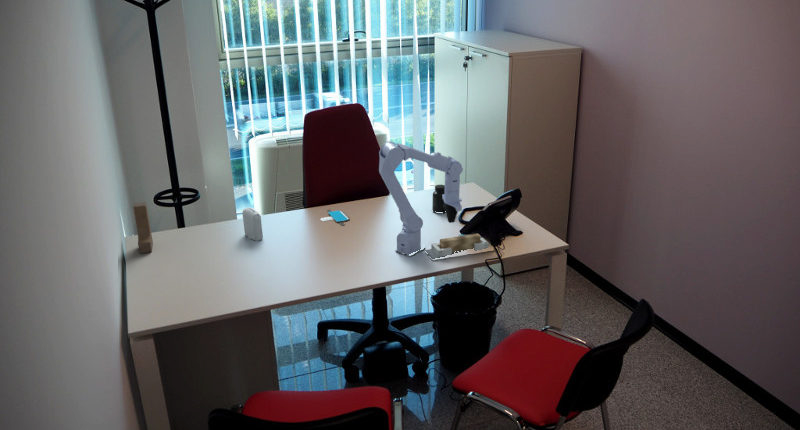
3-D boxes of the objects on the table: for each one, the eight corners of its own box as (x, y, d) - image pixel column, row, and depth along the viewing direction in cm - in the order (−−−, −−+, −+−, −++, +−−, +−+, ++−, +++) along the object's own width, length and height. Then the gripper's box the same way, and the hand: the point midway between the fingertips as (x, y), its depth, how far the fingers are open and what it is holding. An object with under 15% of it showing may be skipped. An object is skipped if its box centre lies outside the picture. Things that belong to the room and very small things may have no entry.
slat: (442, 253, 244) (442, 241, 242) (439, 251, 246) (439, 239, 244) (480, 247, 249) (480, 235, 247) (477, 245, 251) (477, 233, 249)
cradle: (432, 261, 241) (432, 252, 239) (424, 252, 248) (424, 244, 246) (494, 250, 248) (495, 242, 247) (485, 242, 255) (485, 234, 254)
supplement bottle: (447, 214, 284) (448, 188, 280) (432, 214, 285) (432, 188, 280) (447, 208, 291) (447, 183, 286) (432, 208, 291) (432, 183, 287)
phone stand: (314, 213, 288) (314, 210, 287) (339, 209, 293) (339, 206, 292) (328, 229, 271) (328, 225, 270) (354, 224, 276) (354, 221, 275)
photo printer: (243, 234, 266) (240, 206, 261) (252, 231, 268) (249, 204, 264) (255, 242, 258) (252, 213, 254) (264, 239, 261) (261, 211, 256)
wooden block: (151, 252, 250) (144, 209, 243) (139, 254, 249) (131, 211, 242) (153, 243, 258) (146, 201, 251) (141, 244, 257) (134, 203, 250)
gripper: (469, 194, 241) (468, 227, 246) (454, 182, 254) (453, 214, 259) (452, 196, 239) (451, 229, 244) (437, 184, 252) (437, 216, 257)
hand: (451, 221), depth 251 cm, fingers closed
